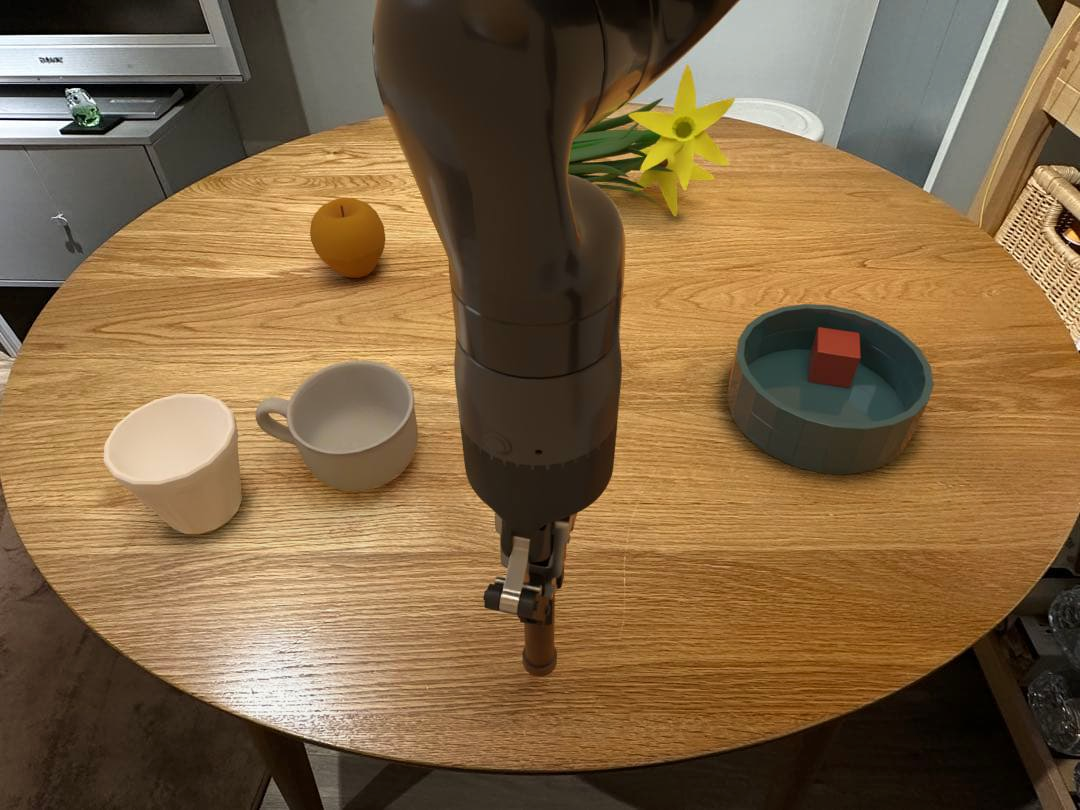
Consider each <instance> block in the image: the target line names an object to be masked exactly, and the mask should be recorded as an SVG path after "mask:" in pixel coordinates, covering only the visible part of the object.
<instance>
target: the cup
mask: <svg viewBox="0 0 1080 810" xmlns="http://www.w3.org/2000/svg"><path fill="white" fill-rule="evenodd" d="M238 441H239V432H238V424H237V420H236V415H235V414H234V411H233V410H232V409H231V408H230V407H229V406H228V405H227V404H226V403H225V402H224V401H223V400H222V399H218V398H216V397H213V396H210V395H207V394H203V393H176V394H172V395H169V396H164V397H160V398H156V399H153V400H152V401H149V402H148V403H145V404H143V405H142V406H139V407H138V408H136V409H134V410H132V411H130V412H129V414H127V415H126V416H125V417H124V418H122V419H121V420H120V421H119V422H118V423H117V424H116V425H115V426H114V428H113V429H112V430H111V433H110V434H109V436H108V438H107V439H106V441H105V443H104V445H103V464H104V465H105V466H106V468H107V470H108V471H109V472H110V474H111V475H112V477H113V478H114V479H115V481H116V482H117V483H118V485H119V486H122V487H124V488H125V489H126V490H128V491H129V492H130V493H131V494H132V495H133V496H134V497H135V498H136V499H137V500H139V501H140V502H141V503H143V504H144V505H145V506H146V507H147V508H149V509H150V510H151V511H152V512H153V513H155V514H156V515H157V516H158V517H159V518H160V519H162V520H163V522H165V523H166V524H167V525H169V527H171V528H172V529H173V530H175V531H177V532H180V533H183V534H185V535H190V536H202V535H205V534H209V533H213V532H216V531H218V530H219V529H221V528H222V527H224V526H225V525H228V524H229V523H230V521H231V520H232V519H233V518H234V517H235V516H236V515H237V514H238V513H239V509H240V507H241V505H242V501H243V495H242V483H241V469H240V456H239V444H238V443H239V442H238Z"/></svg>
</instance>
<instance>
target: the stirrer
mask: <svg viewBox="0 0 1080 810" xmlns="http://www.w3.org/2000/svg"><path fill="white" fill-rule="evenodd" d="M533 574H534V573H533ZM538 575H539V574H538ZM555 619H556V613H555V614H554V618H553V622H552V624H551V625H544V627H539V626H534V625H530V624H525V623H523V634H524V635H523V636H524V637H523V638H524V647H523V649H522V655H521V656H522V665H523V669H524V670H525V671H526V672H527V673H528V674H529V675H531V676H533V677H538V678H543V677H546V676H549V675H550V674H552V673H553V672H554V671H555V669H556V667H557V664H558V650H557V648H556V646H555V633H556V632H555V631H556V630H555V624H556V623H555V622H556V621H555Z"/></svg>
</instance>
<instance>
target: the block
mask: <svg viewBox="0 0 1080 810" xmlns="http://www.w3.org/2000/svg"><path fill="white" fill-rule="evenodd" d="M860 359H861V357H860V334H859V333H856V332H849V331H842V330H835V329H829V328H822V327H818V329H817V332H816V335H815V339H814V342H813V345H812V349H811V352H810V355H809V374H808V381H809V382H813V383H820V384H826V385H832V386H838V387H844V388H850V386H851V383H852V380H853V378H854V375H855V372H856V369H857V367H858V364H859V361H860Z"/></svg>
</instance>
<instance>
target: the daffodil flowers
mask: <svg viewBox="0 0 1080 810" xmlns="http://www.w3.org/2000/svg"><path fill="white" fill-rule="evenodd" d="M663 100H664V97H662V98H659V99H656V100H654V101H652V102H650V103H648V104H646V105H644V106H643V107H640V108H638V109H636V110H633V111H631V112H629V113H626V114H622V115H620V116H619V115H618V116H617V117H613V118H609V119H606V120H602V121H600V122H599V123H598V124H596V125H595V126H593V127H592V128H590V129H589V130H587V131H586V132H584V133H583V134H581V135H580V136H578V137H577V138H575V139H574V140H573V142H572V146H571V151H570V157H569V165H568V174H570V175H573V176H577V177H579V178H582V179H585V180H587V181H589V182H591V183H593V184H595V185H596V186H598V187H599V188H601V189H602V190H613V191H623V192H629V193H630V194H635V195H638V196H640V197H641V198H644V199H645V200H647V201H649V202H651V203H653V204H655V205H656V206H658V207H659V208H661V207H662V206H661V205H660V204H659V203H657V202H656V201H655V200H653V198H651V197H650V196H647V195H646V194H645V193H643V192H641V191H643V190H645V189H647V188H648V187H650V186H653V185H654V184H656V183H658V186H659V189H660V192H661V193H662V196H663V199H664V201H665V202H666V204H667V207H668V208H669V210H670V212H671V213H672V215H673V216H674V217H677V214H678V183H677V182H678V181H677V180H679V183H680V186H681V188H682V189H683V191H684V192H686V191H687V189H688V186H689V182H690V181H715V180H716V179H715V177H714V176H713V175H712V174H711V172H709V171H707V169H705V168H703V167H702V166H700V165H698V164H696V163H694V160H695V159H694V158H695V154H696V155H698V156H699V157H701V158H703V159H705V160H707V161H709V162H712V163H714V164H717V165H721V166H729V165H730V162H729V161H728V159H727V158H726V156H725V154H724V153H723V151H722V150H721V149H720V147H719V146H718V145H717V143H716V142H715V141H714V140H713V138H712V137H710V135H709V134H708V133H707V132H706V131H705V130H707V129H708V128H709V127H710V126H712V125H713V124H715V123H717V122H718V121H719V120H720V119H722V117H723V116H724V115H726V113H727V112H728V111H729V110H730V108H731V107H732V105H734V103H735V100H736V98H735V97H731V98H726V99H720V100H717V101H714V102H711V103H708V104H705V105H702V106H699V107H697V96H696V86H695V82H694V77H693V73H692V69H691V68H690V66H689V64H685V67H684V69H683V72H682V74H681V78H680V81H679V85H678V89H677V92H676V97H675V101H674V105H673V113H670V112H669V113H668V112H661V111H653V109H654V108H655V107H656V106H658V105H659V104H660V103H661V102H662V101H663ZM633 122H636V123H635V124H633V125H632V126H630V127H629V128H628V129H616V128H619V127H623V126H626V125H628V124H631V123H633ZM639 125H641V126H642V127H644V128H646V129H645V130H644V129H643V130H642V129H638V126H639ZM629 154H633V155H636V157H628V158H623V159H621V158H620V159H615V160H605V161H604V160H603V161H597V160H601V159H607V158H613V157H618V156H623V155H629ZM632 171H635V172H637V171H638V172H639V173H642V174H641V175H640V177H639V178H638V180H636V182H635V181H633V180H630V179H628V178H629V175H628V173H630V172H632ZM597 174H598V175H597ZM599 174H600V175H599ZM601 174H603V175H601ZM598 183H599V184H598ZM600 183H614V184H620V185H610V184H600ZM622 185H626V186H622ZM627 186H630V187H627ZM631 187H632V188H631Z"/></svg>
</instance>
